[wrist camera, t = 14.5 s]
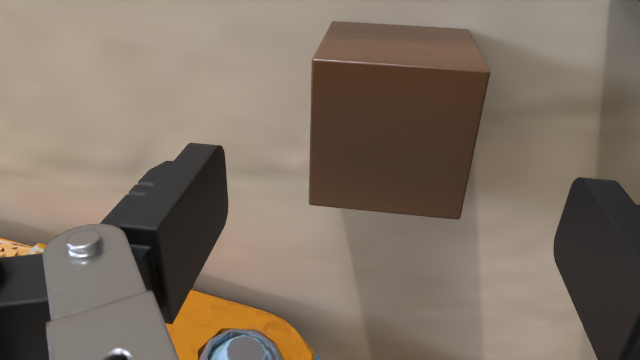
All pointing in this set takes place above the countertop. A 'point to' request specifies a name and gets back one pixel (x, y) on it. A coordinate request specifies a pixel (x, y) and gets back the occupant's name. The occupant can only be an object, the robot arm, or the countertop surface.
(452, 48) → the block
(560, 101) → the countertop surface
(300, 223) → the countertop surface
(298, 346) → the device
